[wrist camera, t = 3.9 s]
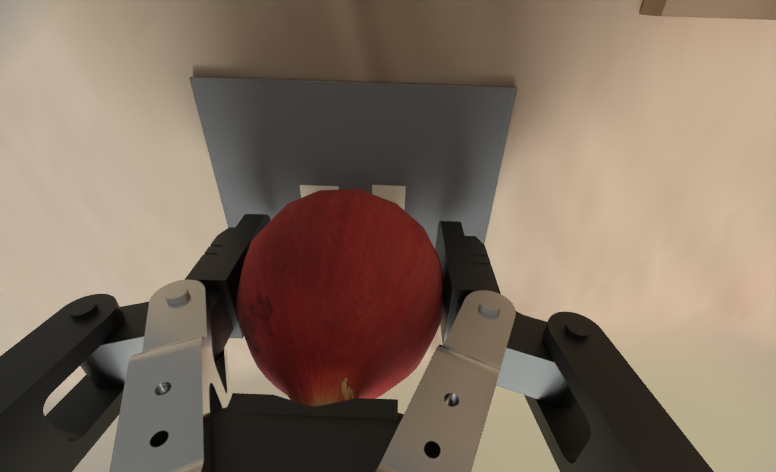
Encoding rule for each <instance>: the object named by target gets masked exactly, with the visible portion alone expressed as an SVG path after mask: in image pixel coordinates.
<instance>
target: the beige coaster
mask: <svg viewBox="0 0 776 472" xmlns="http://www.w3.org/2000/svg"><path fill="white" fill-rule="evenodd" d="M640 14H643V15H654V16H672V17H704V18H737V19H769V20H776V0H644V2H643V5H642V8H641V11H640Z"/></svg>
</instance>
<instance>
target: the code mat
mask: <svg viewBox="0 0 776 472" xmlns="http://www.w3.org/2000/svg"><path fill="white" fill-rule="evenodd" d="M190 82H191V86H192V89H193V93H194V97H195V101H196V105H197V109H198V113H199V116H200V120H201V124H202V128H203V132H204V136H205V139H206V143H207V147H208V151H209V155H210V159H211V163H212V166H213V170H214V174H215V178H216V182H217V186H218V190H219V193H220V197H221V201H222V205H223V209H224V213H225V217H226V220H227V224H228V228H229V227H236V226H237V225H238V223H239V222H240V220H241V219H242V217H243V216H244V215H245V214H267V215H269V217H270V220H272V219H273V218H274V217H275V216H276V215H277V214H278V213H279V212H280V211H281V210H282V209H283V208H284V207H285V206H286V205H287V204H288V203H290V202H293V201H295V200H297V199H300V198H302V197H305V196H307V195H310V194H312V193H314V192H317V191H319V190H345V189H360V190H363V191H365V192H368V193H371V194H373V195H376V196H378V197H381V198H384V199H386V200H389V201H391V202H394V203H396V204H398V205H399V206H400V207H401V208H402V209H403V210H404V211H406V212H407V213H408V214H409V215H410V216H411V217H412V218H413V219H415V220H416V221H417V222H418V223H419V224H420V225H421V226H423V227H424V229H425V231H426V233H427V235H428V237H429V239H430V241H431V242H432V244H433V246H434V248H436V239H437V231H438V224H439V221H460V222H461V224H462V227H463V231H464V235H465V236H476V237H477V238H478V239H479V240H480V241H481V242H482V243H483V244H484V242H485V237H486V233H487V228H488V223H489V218H490V214H491V209H492V204H493V199H494V195H495V190H496V185H497V180H498V176H499V171H500V166H501V161H502V157H503V152H504V147H505V142H506V138H507V133H508V128H509V123H510V119H511V114H512V109H513V104H514V100H515V95H516V90H517V88H516V87H501V86H470V85H439V84H408V83H377V82H347V81H316V80H285V79H254V78H223V77H190Z"/></svg>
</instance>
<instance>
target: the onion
mask: <svg viewBox="0 0 776 472" xmlns="http://www.w3.org/2000/svg"><path fill="white" fill-rule="evenodd" d="M236 310H237V314H238V318H239V321H240V325H241V328H242V331H243V334H244V336H245V339H246V342H247V344H248V347H249V350H250V352H251V355H252V357H253V359H254V361H255V362H256V364H257V366H258V368H259V369H260V370H261V372H262V373H263V374H264V375H265V377H266V378H267V379H268V380H269V381H270V382H271V383H272V384H273V385H274V386H275V387H277V388H278V389H279V390H281V391H282V392H284V393H285V394H286V395H288V397H289V398H290V400H291V401H295V402H298V403H301V404H304V405H308V406H313V407H315V406H321V405H326V404H331V403H336V402H340V401H345V400H350V399H355V398H367V399H375V398H377V397H379V396H381V395H383V394H384V393H385V392H387V391H388V390H390V389H391V388H393V387H394V386H395V385H397V384H398V383H400V382H401V381H402V380H404V379H405V378H406V377H407V376H409V375H410V374H411V373H412V372H413V371H414V370H415V369H416V368H417V366H418V365H419V363H420V362H421V360H422V359H423V357H424V355H425V353H426V351H427V350H428V348H429V346H430V344H431V342H432V340H433V338H434V336H435V334H436V332H437V329H438V327H439V325H440V322H441V320H442V312H443V269H442V266H441V263H440V260H439V257H438V254H437V252H436V250H435V248H434V246H433V244H432V242H431V241H430V239H429V237H428V235H427V233H426V231H425V229H424V227H423V226H421V225H420V224H419V223H418V222H417V221H416V220H415V219H413V218H412V217H411V216H410V215H409V214H408V213H407V212H406V211H404V210H403V209H402V208H401V207H400V206H399V205H398V204H396V203H394V202H391V201H389V200H386V199H384V198H381V197H378V196H376V195H373V194H371V193H368V192H365V191H363V190H360V189H345V190H319V191H317V192H314V193H312V194H310V195H307V196H305V197H302V198H300V199H297V200H295V201H293V202H290V203H288V204H287V205H286V206H285V207H284V208H283V209H282V210H281V211H280V212H279V213H278V214H277V215H276V216H275V217H274V218H273V219H272V220H271V221H270V222H269V223H268V224H267V225H266V226H265V227H264V228H263V229H262V230H261V231H260V232H259V233H258V235H257V236H256V237H255V238H254V239H253V240H252V241H251V244H250V246H249V249H248V252H247V255H246V257H245V260H244V264H243V268H242V272H241V276H240V281H239V285H238V289H237V308H236Z"/></svg>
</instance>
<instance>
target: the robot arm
mask: <svg viewBox="0 0 776 472" xmlns="http://www.w3.org/2000/svg"><path fill="white" fill-rule="evenodd" d="M270 221H271V220H270V217H269V215H267V214H245V215H244V216H243V217H242V219H241V220H240V222H239V223H238V225H237V226H236V227H229V228H228V229H226V230H225V231H223V232H222V233H220V234H219V235H218V236H217V237H216V238H215V240H214V241H213V242H212V244H211V247H209V248H208V249H207V250H206V252H205V255H203V256H202V257H201V258H200V260H199V261H198V262H197V264H196V265H195V266H194V268H193V269H192V270H191V272H190V273H189V274H188V276H187V277H186V278H185V280H180V281H176V282H173V283H170V284H168V285H165V286H164V287H162V288H160V289H159V290H158V291H156V292H155V293H154V294H153V296H152V297H151V299H150V301H149V302H145V303H140V304H134V305H129V306H123V307H119V305H118V303H117V301H116V299H115V298H114V297H113V296H111V295H108V294H95V295H90V296H86V297H83V298H80V299H77V300H75V301H73V302H71V303H69V304H68V305H66V306H65V307H63V308H62V309H61V310H59V311H58V312H57V313H55V314H54V315H53V316H52V317H50V318H49V319H48V320H46V321H45V322H44V323H43V324H41V325H40V326H39V327H37V328H36V329H35V330H34V331H32V332H31V333H30V334H28V335H27V336H26V337H25V338H23V339H22V340H21V341H20V342H18V343H17V344H16V345H14V346H13V347H12V348H11V349H9V350H8V351H7V352H5V353H4V354H3V355H2V356H0V472H72V471H73V470H74V468H75V467H76V466H77V465H78V463H79V462H80V461H81V460H82V459H83V457H84V456H85V455H86V454H87V453H88V451H89V450H90V449H91V448H92V447H93V445H94V444H95V443H96V441H98V439H99V438H100V437H101V436H102V434H103V433H104V432H105V431H106V429H107V428H108V427H109V426H110V425H111V423H112V422H113V421H114V420H115V419H116V417H117V416H118V415H119V420H118V425H117V431H116V437H115V442H114V448H113V454H112V460H111V465H110V471H109V472H471V470H472V466H473V463H474V459H475V456H476V452H477V449H478V445H479V442H480V438H481V435H482V432H483V428H484V425H485V421H486V418H487V414H488V411H489V407H490V404H491V400H492V397H493V394H494V390H495V387H496V386H500V387H502V388H505V389H508V390H512V391H514V392H517V393H521V394H524V395H525V398H526V400H527V402H528V404H529V406H530V408H531V410H532V413H533V415H534V417H535V419H536V421H537V423H538V425H539V428H540V430H541V432H542V434H543V436H544V438H545V440H546V443H547V445H548V446H549V449H550V451H551V453H552V455H553V457H554V460H555V462H556V464H557V466H558V468H559V470H560V472H713V470H712V469H711V468H710V467H709V465H708V464H707V463H706V462H705V460H704V459H703V458H702V456H701V455H700V454H699V453H698V451H697V450H696V449H695V448H694V446H693V445H692V444H691V442H690V441H689V440H688V439H687V438H686V436H685V435H684V434H683V432H682V431H681V430H680V428H679V427H678V426H677V425H676V423H675V422H674V421H673V420H672V418H671V417H670V416H669V415H668V413H667V412H666V411H665V409H664V408H663V407H662V406H661V404H660V403H659V402H658V401H657V399H656V398H655V397H654V395H653V394H652V393H651V392H650V390H649V389H648V388H647V387H646V385H645V384H644V383H643V382H642V380H641V379H640V378H639V376H638V375H637V374H636V373H635V372H634V370H633V369H632V368H631V366H630V365H629V364H628V362H627V361H626V360H625V359H624V357H623V356H622V355H621V354H620V352H619V351H618V350H617V349H616V347H615V346H614V345H613V343H612V342H611V341H610V340H609V338H608V337H607V336H606V335H605V333H604V332H603V331H602V329H601V328H600V327H599V326H598V325H597V324H596V323H594V322H593V321H591V320H590V319H588V318H586V317H584V316H582V315H579V314H576V313H572V312H558V313H555V314H554V315H552V316H551V317H550V318H549V320H548V322H546V321H542V320H538V319H535V318H531V317H528V316H525V315H522V314H520V313H518V312H516V310H515V307H514V306H513V304H512V303H511V301H510V300H508V299H507V298H506V297H504V296H503V295H501V293H500V290H499V287H498V284H497V281H496V278H495V275H494V272H493V269H492V266H491V265H490V260H489V257H488V254H487V251H486V248H485V245H484V244H483V243H482V242H481V241H480V240H479V239H478V238H477V237H476V236H465V235H464V231H463V227H462V224H461V222H460V221H439V224H438V231H437V239H436V248H435V250H436V252H437V254H438V257H439V260H440V263H441V266H442V269H443V312H442V320H441V322H440V325H441V334H442V342H443V346H442V345H439V346H438V347H437V348H436V350H435V352H434V354H433V356H432V358H431V360H430V362H429V364H428V366H427V369H426V370H425V373H424V375H423V377H422V379H421V381H420V383H419V385H418V387H417V389H416V391H415V393H414V395H413V397H412V399H411V401H410V403H409V405H408V408H407V410H406V411H405V414H404V415H403V414H400V413H398V412H397V411H398V409H397V408H398V400H393V399H367V398H355V399H350V400H345V401H340V402H336V403H331V404H326V405H321V406H315V407H313V406H308V405H304V404H301V403H298V402H295V401H291V400H288V399H285V398H282V397H279V396H275V395H263V394H236V393H233V394H232V397H231V392H230V381H229V370H228V359H227V351H226V348H225V345H226V343H227V341H228V339H229V338H243V336H244V334H243V331H242V328H241V325H240V321H239V318H238V314H237V310H236V308H237V289H238V285H239V281H240V276H241V272H242V268H243V264H244V260H245V257H246V255H247V252H248V249H249V246H250V244H251V241H252V240H253V239H254V238H255V237H256V236H257V235H258V233H259V232H260V231H261V230H262V229H263V228H264V227H265V226H266V225H267V224H268V223H269V222H270ZM79 366H81V367H82V369H83V370H84V372H85V373H86V374H87V375H86V376H85V377H84V378H83V379H82V380H81V381H80V382H79V383H78V384H77V385H76V386H75V387H74V388H73V389H72V390H71V391H70V392H69V393H68V394H67V395H66V396H65V397H64V398H63V399H62V400H61V401H60V402H59V403H58V404H57V405H56V406H55V407H54V408H53V409H52V410H51V411H50V412H49V413H48V414H47V415H46V416H44V414H43V407H44V403H45V401H46V399H47V398H48V396H49V395H50V394H51V393H52V392H53V391H54V390H55V389H56V388H57V387H58V386H59V385H60V384H61V383H62V382H63V381H64V380H65V379H66V378H67V377H68V376H69V375H70V374H71V373H73V372H74V371H75V370H76V369H77V368H78V367H79Z"/></svg>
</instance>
